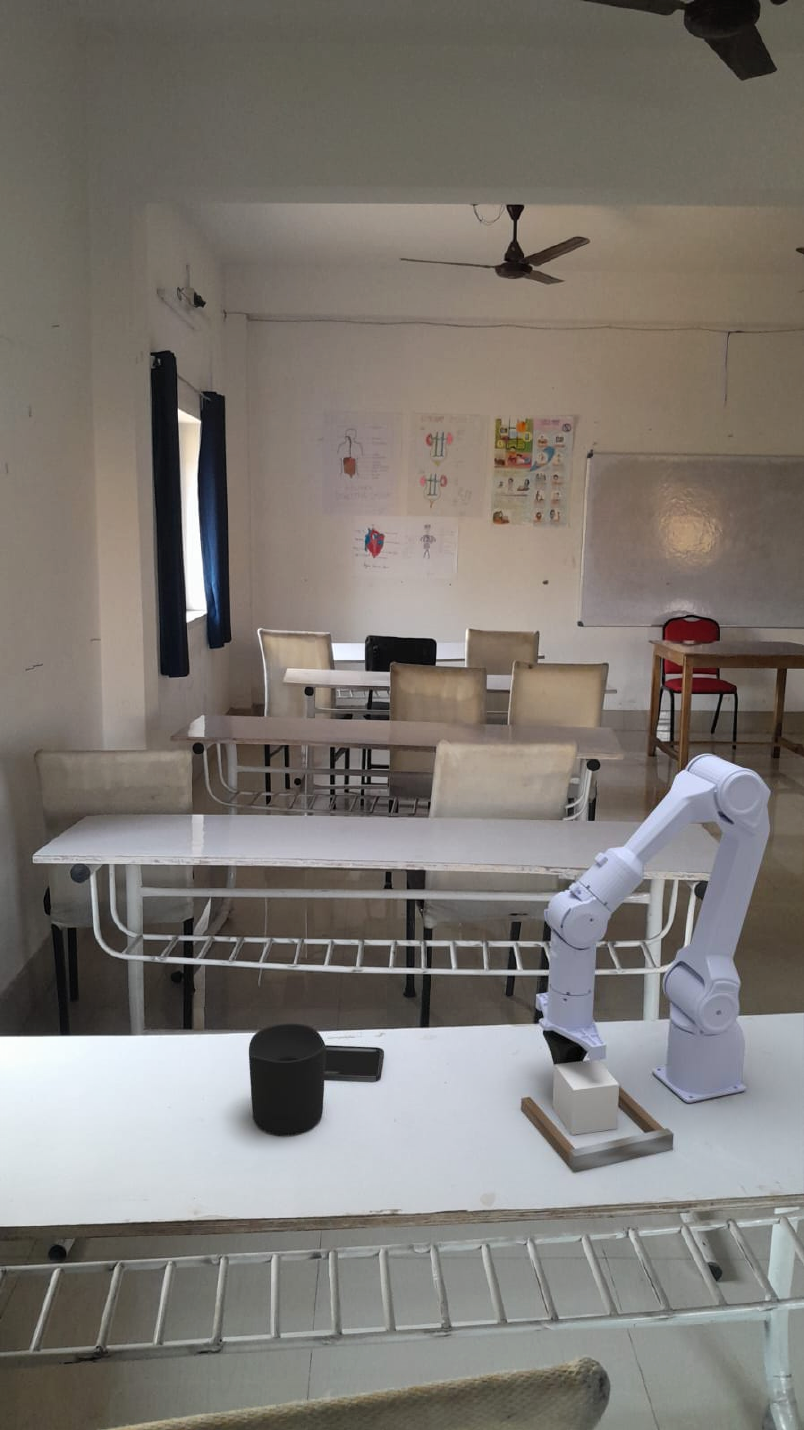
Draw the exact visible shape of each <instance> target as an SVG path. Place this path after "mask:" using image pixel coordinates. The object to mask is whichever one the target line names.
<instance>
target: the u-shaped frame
mask: <svg viewBox="0 0 804 1430" xmlns="http://www.w3.org/2000/svg"><path fill="white" fill-rule="evenodd" d="M520 1103H521V1104H520V1110H521V1111H522V1112H523V1114H524V1115H525V1116H526V1118H528V1119H529V1121H530V1122H531V1123H532V1124H533V1126H534V1127H535V1128H536V1129H537V1130H538V1131H539V1133H540V1134H541V1135H542V1137H544V1139H545V1140H546V1141H547V1142H548V1143H549V1144H550V1146H551V1147H552V1148H553V1150H554V1151H555V1152H556V1153H557V1154H558V1156H559V1157H560V1158H561V1159H562V1160H563V1161H564V1162H565V1164H566V1165H567V1166H568V1167H569V1168H570V1170H571V1171H572V1172H573V1173H576V1172H577V1173H578V1172H581V1171H585V1170H590V1169H594V1168H598V1167H601V1166H607V1165H610V1164H611V1165H612V1164H615V1163H619V1162H623V1161H628V1160H633V1159H636V1158H640V1157H645V1156H648V1155H654V1154H658V1153H661V1152H665V1151H666V1152H667V1151H670V1150H673V1148H674V1147H673V1146H674V1137H675V1136H674V1135H675V1133H674V1132H672V1131H671V1130H670V1129H669V1127H667V1128H664V1127H663V1126H662V1125H661V1124H660V1123H659V1122H658V1121H657V1120H655V1118H654V1117H652V1116H651V1115H650V1114H649V1113H648V1112H647V1111H646V1110H645V1109H644V1108H643V1107H642V1106H641V1105H640V1104H639V1103H638V1102H636V1100H635V1099H634V1098H633V1097H631V1096H630V1095H629V1094H628V1093H627V1092H626V1091H625V1090H624V1089H623V1087H621V1086H620V1085H619V1097H618V1108H620V1109H621V1110H622V1111H623V1112H624V1113H625V1114H626V1115H627V1116H628V1117H629V1118H630V1119H631V1120H632V1121H633V1122H634V1123H635V1124H636V1125H637V1126H638V1127H639V1128H640V1129H641V1130H642V1131H643V1133H640V1134H636V1135H632V1136H631V1135H630V1136H627V1137H622V1138H617V1139H613V1140H609V1141H605V1142H604V1141H603V1142H600V1143H595V1144H591V1145H587V1146H584V1147H579V1148H578V1147H577V1148H576V1147H574V1146H573V1144H572V1143H571V1142H570V1141H569V1140H568V1139H567V1138H566V1136H564V1134H563V1133H562V1132H561V1130H560V1129H559V1128H558V1127H557V1126H556V1125H555V1123H553V1121H552V1120H551V1119H550V1118H549V1117H548V1115H546V1114H545V1112H544V1111H543V1110H542V1109H541V1108H540V1106H539V1105H538V1104H537V1103H536V1102H535V1101H534V1099H533V1098H532V1097H531V1096H527V1097H521V1099H520Z"/></svg>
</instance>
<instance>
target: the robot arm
mask: <svg viewBox="0 0 804 1430" xmlns="http://www.w3.org/2000/svg"><path fill="white" fill-rule="evenodd" d="M770 796H771V790H770V788H769V787H768V786H767V784H766V783H765V782H764V780H763V778H762V777H761V775H760V774H758V773H757V772H756V771H754V770H752V769H750V768H745V767H742V766H739V765H737V764H735V763H733V762H730V761H727V760H724V759H722V758H721V757H719V756H718V755H715V754H712V753H703V754H699V755H697V756H695V757H694V758H692V759H691V760H690V761H689V762H688V764H687V765H686V766H685V768H684V769H683V770H681V771H680V772H679V773H677V774H676V776H675V777H674V780H673V783H672V785H671V788H670V790H669V791H668V793H667V794H666V795H665V797H663V798H662V800H661V801H660V802H659V804H657V806H656V807H655V808H654V809H653V810H652V812H650V814H649V815H648V816H647V817H646V819H645V820H644V821H643V822H642V824H641V825H640V827H638V828H637V830H636V831H635V832H634V834H632V836H631V837H630V838H629V839H628V841H627V842H625V844H624V845H623V846H619V847H610V848H608V849H606V851H604V853H603V852H599V853H598V854H597V855H596V856H595V857H594V858H593V860H594V861H595V862H594V863H593V864H592V866H591V867H590V868H588V869H587V870H586V872H584V874H583V875H582V876H581V877H580V878H579V879H578V880H577V881H576V882H572V883H571V884H570V885H569V886H568V889H565V890H564V891H560V892H558V893H556V894H555V895H554V896H553V897H552V898H551V900H550V901H549V903H548V904H547V905H548V907H547V909H544V910H543V916H544V920H545V922H546V924H547V925H548V926H549V928H550V929H551V931H550V949H549V965H548V966H549V967H548V985H547V987H548V989H547V992H543V993H536V995H535V1008H536V1009H537V1010H538V1011H539V1012H542V1015H543V1017H541V1018H540V1019H538V1024H539V1027H541V1028H542V1036H543V1037H544V1040H545V1041H546V1043H547V1046H548V1049H549V1052H550V1055H551V1058H552V1063H553V1065H554V1064H562V1063H570V1062H579V1061H585V1060H584V1059H585V1058H586V1056H587V1058H588V1060H591V1061H596V1060H599V1061H601V1060H605V1059H606V1057H607V1055H606V1054H607V1043H606V1042H604V1040H603V1039H602V1036H601V1035H600V1032H599V1029H598V1026H597V1024H596V1022H595V1019H594V1018H593V1012H594V999H595V998H594V997H595V996H594V995H595V980H596V979H595V975H596V962H597V961H596V960H597V958H596V957H597V943H598V942H600V941H601V940H602V939H603V938H604V937H605V935H606V932H607V929H608V922H609V920H610V919H611V917H612V914H613V913H614V912H615V911H616V910H617V909H618V908H619V907H620V906H621V904H623V902H624V901H625V900H626V899H627V898H628V897H629V896H630V895H631V894H632V893H633V892H634V891H635V890H636V889H637V888H638V887H639V886H640V885H641V884H642V882H643V881H644V876H645V875H644V870H645V869H644V868H645V866H646V864H647V863H649V862H650V861H651V860H652V859H653V858H654V857H655V856H657V855H658V854H659V853H660V852H661V851H662V850H663V849H664V848H665V847H666V846H667V845H668V844H669V843H671V842H672V840H674V839H675V838H676V837H677V836H678V835H679V834H680V833H681V832H683V831H684V830H685V829H686V828H687V827H688V826H689V825H691V824H699V823H716V824H717V826H718V827H719V829H720V830H721V837H720V840H719V844H718V848H717V850H716V855H715V857H714V862H713V863H712V864H713V865H712V867H711V871H710V874H709V879H708V881H707V886H706V888H705V889H706V890H705V892H704V894H703V896H704V897H703V900H702V903H701V905H700V909H699V914H698V916H697V920H696V923H695V926H694V927H695V928H694V931H693V934H692V939H691V942H690V943H689V944H688V945H685V946H684V947H682V948H680V949H678V950H677V952H676V955H675V958H674V961H673V962H672V964H671V965H670V966H669V967H668V969H667V970H666V971H665V973H664V975H663V978H662V983H661V985H662V986H661V987H662V991H663V994H664V996H665V997H666V998H667V999H668V1001H670V1002H669V1010H670V1011H669V1021H668V1023H669V1025H668V1039H667V1052H666V1053H667V1055H666V1064H665V1065H666V1066H665V1065H664V1066H660V1067H656V1068H652V1071H651V1073H652V1074H653V1076H655V1077H656V1078H657V1079H659V1080H660V1081H661V1082H662V1083H663V1084H664V1085H665V1086H667V1087H668V1088H669V1089H670V1090H671V1091H673V1093H675V1094H676V1095H677V1096H678V1097H679V1098H680V1099H682V1100H683V1101H684V1102H685V1103H687V1104H689V1103H694V1102H699V1101H703V1100H708V1099H711V1098H713V1099H714V1098H717V1097H720V1096H721V1097H722V1096H726V1095H727V1096H728V1095H731V1094H735V1093H740V1092H744V1091H746V1088H747V1087H746V1086H745V1084H743V1073H744V1072H743V1071H744V1060H745V1049H746V1048H745V1047H746V1046H745V1045H746V1042H745V1041H746V1040H745V1034H744V1032H743V1029H742V1026H741V1025H740V1023H739V1022H738V1021H737V1019H738V1018H739V1014H740V1002H739V993H740V992H739V990H740V988H741V979H740V976H739V974H738V971H737V968H736V966H735V962H734V955H735V952H736V949H737V945H738V942H739V939H740V936H741V935H740V934H741V932H742V929H743V925H744V922H745V918H746V915H747V911H748V908H749V905H750V901H751V898H752V894H753V891H754V887H755V884H756V881H757V877H758V874H759V871H760V868H761V867H760V866H761V865H762V860H763V857H764V853H765V850H766V846H767V844H768V840H769V837H770V831H771V825H770V818H769V817H770V816H769V809H768V802H769V800H770Z"/></svg>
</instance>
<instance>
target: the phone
mask: <svg viewBox="0 0 804 1430" xmlns="http://www.w3.org/2000/svg"><path fill="white" fill-rule="evenodd" d="M325 1045H326V1056H325V1078H324V1081H333V1082H334V1081H335V1082H351V1083H352V1082H356V1083H377V1082H379V1081H380V1080H381V1079H382V1072H383V1066H384V1065H383V1064H384V1058H385V1051H384V1049H383V1048H381V1047H378V1046H377V1047H375V1046H374V1047H373V1046H355V1045H353V1046H351V1045H333V1044H332V1045H331V1044H330V1045H329V1044H325Z"/></svg>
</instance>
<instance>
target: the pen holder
mask: <svg viewBox="0 0 804 1430" xmlns="http://www.w3.org/2000/svg"><path fill="white" fill-rule="evenodd" d="M326 1045H327V1044H326V1043H325V1040H324V1039H323V1037H322V1036H321V1034H320V1033H319V1032H318V1031H317V1030H316V1029H315V1028H314V1027H311V1026H309V1025H306V1024H301V1023H281V1024H274V1025H270V1026H267V1027H264V1028H262V1029H261V1030H259V1031H257V1032H256V1033H255V1034H254V1035H253V1036H252V1037H251V1039H250V1042H249V1046H248V1061H249V1062H248V1064H249V1079H250V1095H251V1097H250V1098H251V1110H252V1118H253V1122H254V1123H255V1124H256V1126H257V1127H258V1128H259V1129H260V1130H262V1131H264V1132H266V1133H267V1134H270V1135H274V1136H283V1137H285V1136H287V1137H288V1136H294V1135H299V1134H303V1133H306V1132H308V1131H309V1130H310V1131H311V1129H313V1128H314V1127H315V1126H316V1125H317V1124H318V1123H319V1122H320V1120H321V1119H322V1117H323V1111H324V1098H325V1097H324V1096H325V1080H324V1078H325V1056H326Z"/></svg>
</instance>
